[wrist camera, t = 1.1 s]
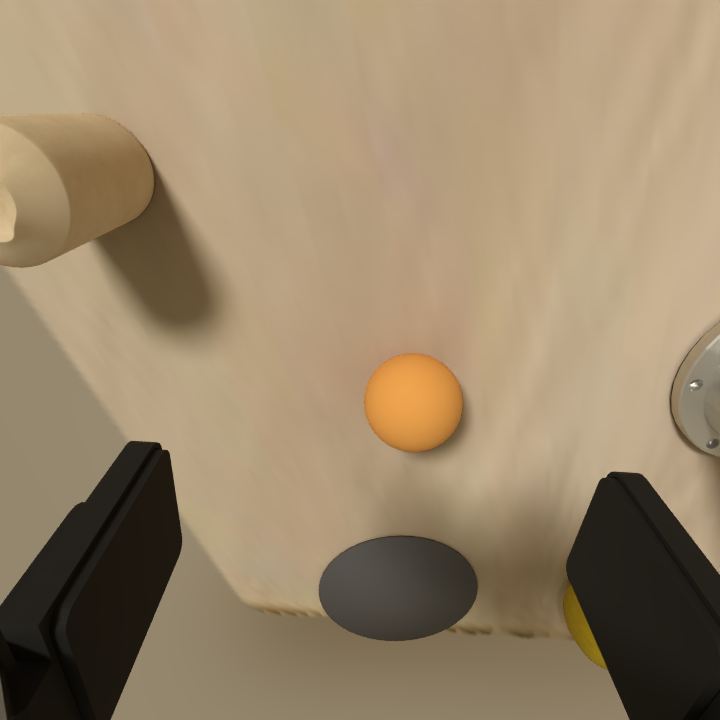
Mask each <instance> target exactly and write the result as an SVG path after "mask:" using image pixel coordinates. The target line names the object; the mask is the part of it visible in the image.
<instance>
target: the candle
mask: <svg viewBox="0 0 720 720" xmlns="http://www.w3.org/2000/svg"><path fill="white" fill-rule="evenodd" d="M153 190H154V173H153V169H152V165H151V162H150V159H149V157H148V155H147V153H146V151H145V149H144V148H143V146H142V145H141V143H140V142H139V141H138V140H137V138H136V137H135V136H134V135H133V134H132V133H131V132H130V131H128V130H127V129H126V128H125V127H123V126H122V125H120V124H118V123H117V122H115V121H113V120H110V119H108V118H105V117H102V116H98V115H92V114H36V115H0V265H4V266H10V267H20V268H23V267H33V266H37V265H40V264H43V263H46V262H48V261H50V260H52V259H54V258H56V257H58V256H60V255H62V254H64V253H66V252H68V251H71V250H73V249H75V248H77V247H79V246H81V245H83V244H85V243H87V242H89V241H91V240H93V239H95V238H97V237H99V236H101V235H103V234H105V233H107V232H109V231H111V230H114V229H116V228H118V227H120V226H122V225H124V224H126V223H128V222H129V221H131V220H133V219H135V218H136V217H138V216H139V215H140V214H141V213H142V212H143V211H144V210H145V209H146V207H147V206H148V204H149V203H150V200H151V198H152V195H153Z"/></svg>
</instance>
